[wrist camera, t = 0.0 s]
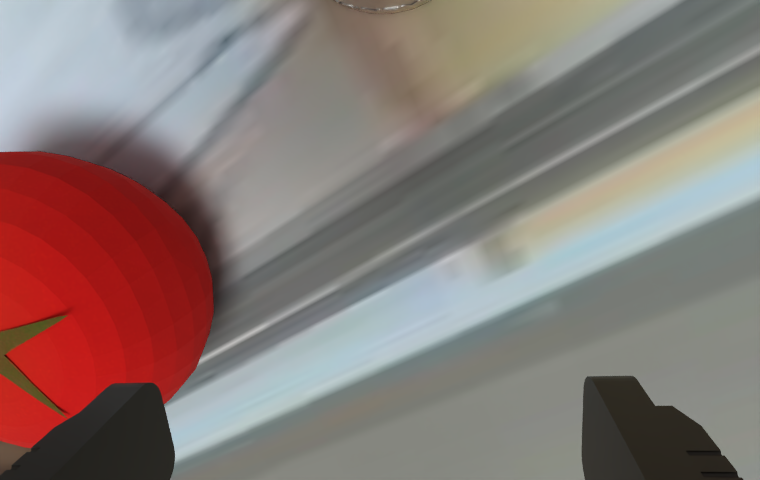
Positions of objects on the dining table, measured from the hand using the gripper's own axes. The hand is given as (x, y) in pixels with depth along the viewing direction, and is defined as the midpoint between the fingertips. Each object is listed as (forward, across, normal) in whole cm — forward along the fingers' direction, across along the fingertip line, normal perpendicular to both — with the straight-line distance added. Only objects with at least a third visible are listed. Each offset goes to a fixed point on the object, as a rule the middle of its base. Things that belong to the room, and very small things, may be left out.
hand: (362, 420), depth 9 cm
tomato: (+18, +16, +2) cm, 24 cm away
